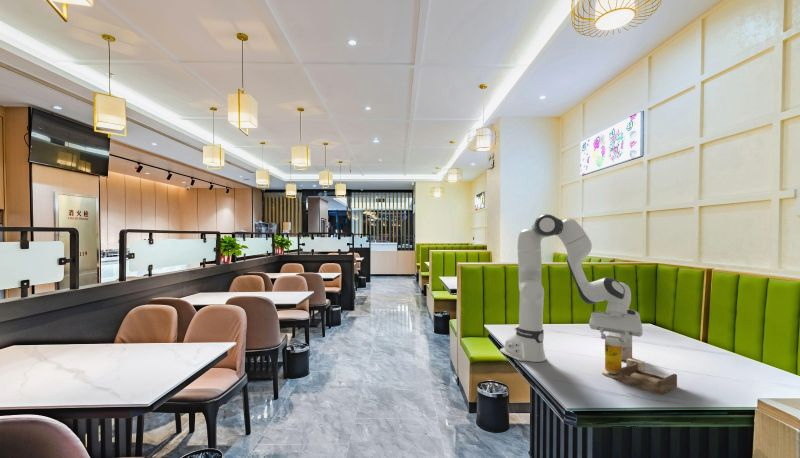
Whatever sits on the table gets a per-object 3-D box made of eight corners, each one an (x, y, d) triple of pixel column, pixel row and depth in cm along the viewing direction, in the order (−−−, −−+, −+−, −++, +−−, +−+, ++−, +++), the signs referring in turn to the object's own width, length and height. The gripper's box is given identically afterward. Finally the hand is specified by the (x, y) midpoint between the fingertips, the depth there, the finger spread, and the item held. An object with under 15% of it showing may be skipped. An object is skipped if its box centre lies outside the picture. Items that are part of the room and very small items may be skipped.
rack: (618, 381, 142) (618, 368, 142) (635, 374, 150) (635, 363, 150) (661, 395, 129) (661, 381, 130) (677, 387, 137) (676, 374, 137)
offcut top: (629, 365, 162) (626, 366, 160) (629, 358, 162) (626, 359, 160) (644, 369, 157) (641, 371, 155) (643, 362, 157) (641, 363, 155)
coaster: (598, 373, 150) (598, 372, 150) (607, 370, 154) (607, 369, 154) (618, 380, 143) (618, 378, 143) (627, 376, 147) (627, 375, 147)
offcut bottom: (630, 384, 139) (630, 374, 139) (633, 382, 142) (633, 372, 142) (657, 392, 132) (657, 381, 133) (660, 389, 135) (660, 379, 135)
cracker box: (633, 362, 166) (632, 318, 167) (619, 360, 168) (619, 317, 169) (620, 353, 180) (620, 313, 181) (608, 352, 181) (608, 312, 182)
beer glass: (601, 369, 151) (601, 335, 152) (614, 369, 152) (614, 335, 153) (611, 374, 145) (611, 338, 146) (625, 374, 146) (624, 338, 147)
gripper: (590, 306, 162) (584, 331, 154) (642, 312, 148) (639, 340, 141) (592, 314, 165) (587, 339, 157) (644, 321, 151) (641, 348, 144)
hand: (612, 339), depth 149 cm, fingers closed on beer glass, 6 cm apart
